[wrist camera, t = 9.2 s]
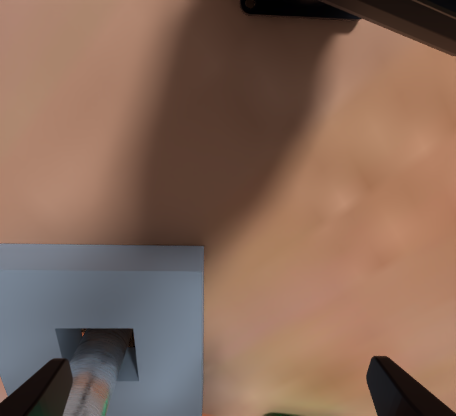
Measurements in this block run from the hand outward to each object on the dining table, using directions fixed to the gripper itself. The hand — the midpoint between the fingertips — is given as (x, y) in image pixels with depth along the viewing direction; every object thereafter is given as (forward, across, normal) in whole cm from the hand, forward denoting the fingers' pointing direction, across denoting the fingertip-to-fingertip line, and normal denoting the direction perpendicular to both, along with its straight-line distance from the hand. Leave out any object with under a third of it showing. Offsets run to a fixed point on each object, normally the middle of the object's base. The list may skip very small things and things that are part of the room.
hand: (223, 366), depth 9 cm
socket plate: (+12, +8, +10) cm, 18 cm away
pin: (+12, +8, +10) cm, 18 cm away
